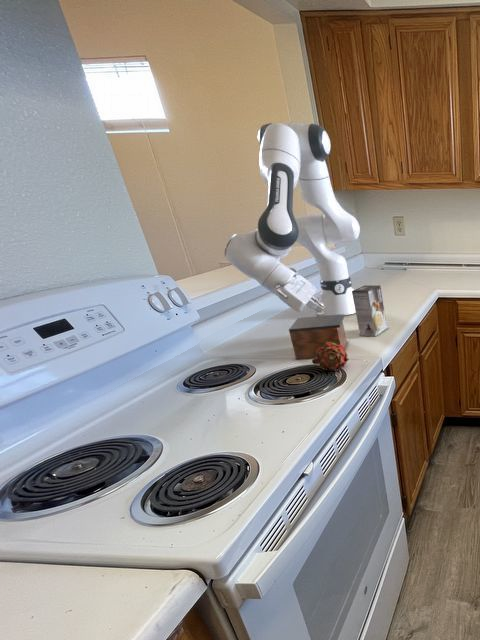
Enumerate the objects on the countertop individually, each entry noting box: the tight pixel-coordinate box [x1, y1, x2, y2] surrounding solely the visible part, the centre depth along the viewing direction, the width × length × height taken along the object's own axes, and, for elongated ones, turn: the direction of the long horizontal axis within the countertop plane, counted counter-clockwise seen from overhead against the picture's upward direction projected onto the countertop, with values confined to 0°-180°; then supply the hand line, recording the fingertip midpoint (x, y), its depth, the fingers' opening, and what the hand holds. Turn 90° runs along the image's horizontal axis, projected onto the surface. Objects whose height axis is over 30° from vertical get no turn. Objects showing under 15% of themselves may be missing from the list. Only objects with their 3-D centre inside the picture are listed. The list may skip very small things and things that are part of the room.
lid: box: [288, 314, 345, 333], centre depth 131 cm, size 14×13×1 cm
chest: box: [289, 320, 348, 360], centre depth 133 cm, size 14×13×9 cm
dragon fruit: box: [311, 342, 350, 372], centre depth 118 cm, size 8×8×12 cm
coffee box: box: [352, 284, 388, 337], centre depth 147 cm, size 9×6×16 cm
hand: (322, 309), depth 130 cm, fingers closed
